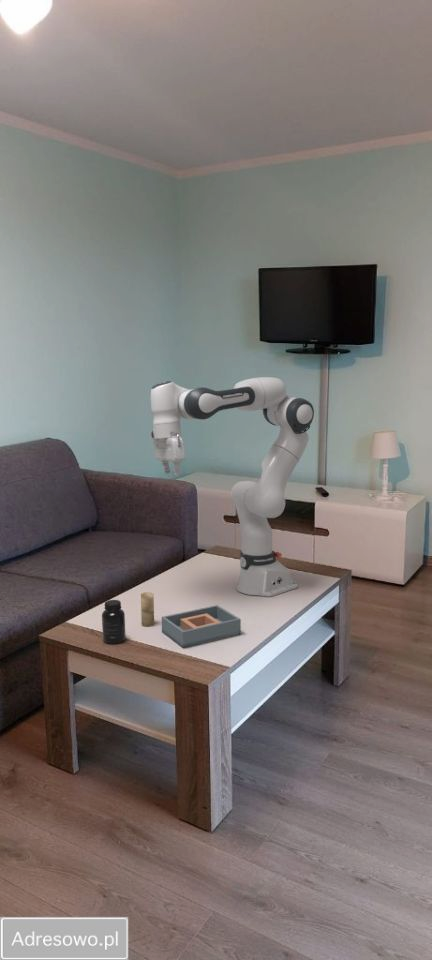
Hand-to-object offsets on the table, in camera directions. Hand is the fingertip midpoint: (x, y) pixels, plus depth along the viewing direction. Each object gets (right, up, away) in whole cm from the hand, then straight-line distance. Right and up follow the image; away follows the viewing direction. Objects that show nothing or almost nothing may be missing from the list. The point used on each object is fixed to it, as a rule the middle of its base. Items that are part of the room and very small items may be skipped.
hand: (172, 474), depth 237 cm
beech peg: (-7, -48, -6) cm, 49 cm away
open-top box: (+10, -49, -13) cm, 52 cm away
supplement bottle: (-16, -50, -18) cm, 56 cm away
